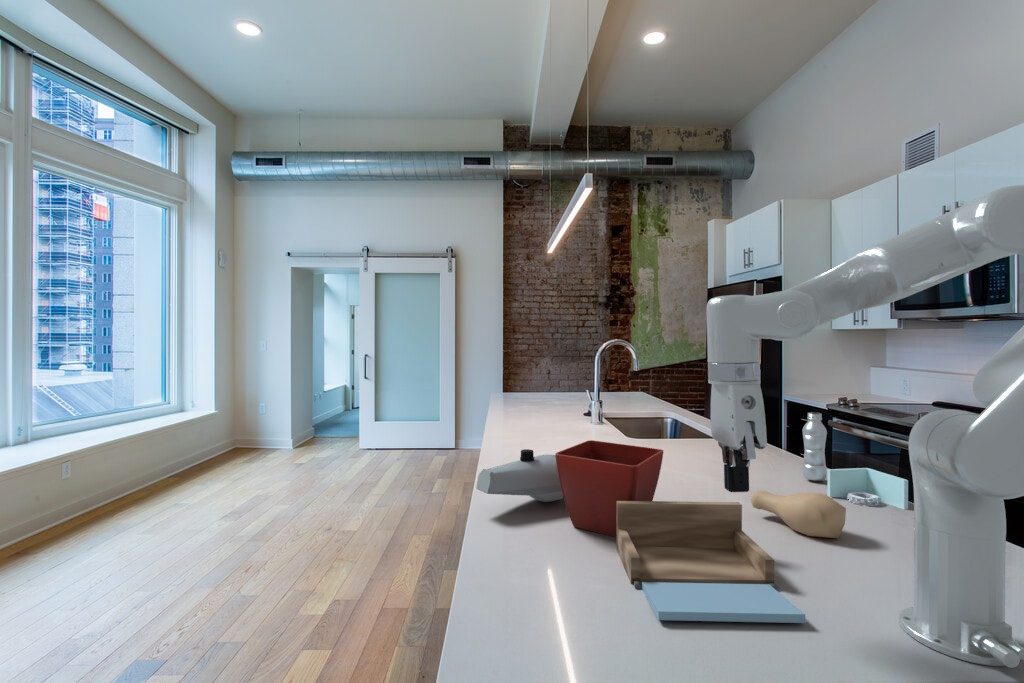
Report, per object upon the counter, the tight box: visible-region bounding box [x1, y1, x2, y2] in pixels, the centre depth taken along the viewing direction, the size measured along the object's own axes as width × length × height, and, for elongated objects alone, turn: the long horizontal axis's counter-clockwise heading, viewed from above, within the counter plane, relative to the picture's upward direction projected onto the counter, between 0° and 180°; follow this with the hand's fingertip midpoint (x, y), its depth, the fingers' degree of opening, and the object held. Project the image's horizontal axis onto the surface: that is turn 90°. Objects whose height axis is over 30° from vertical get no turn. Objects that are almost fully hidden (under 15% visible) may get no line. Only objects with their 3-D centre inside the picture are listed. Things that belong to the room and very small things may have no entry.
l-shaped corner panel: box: [826, 467, 909, 510], centre depth 130 cm, size 12×12×8 cm
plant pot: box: [554, 439, 664, 538], centre depth 114 cm, size 19×19×17 cm
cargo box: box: [615, 500, 778, 591], centre depth 92 cm, size 16×24×10 cm
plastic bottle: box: [801, 412, 828, 482], centre depth 150 cm, size 6×7×20 cm
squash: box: [750, 489, 847, 539], centre depth 112 cm, size 11×20×9 cm, turn 30°
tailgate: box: [641, 582, 807, 624], centre depth 78 cm, size 1×21×11 cm
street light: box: [475, 448, 564, 503], centre depth 128 cm, size 30×16×14 cm, turn 127°
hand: (736, 490), depth 79 cm, fingers closed
